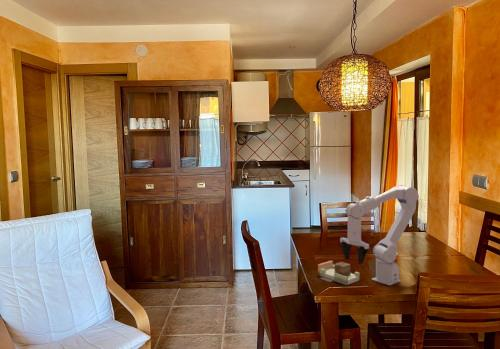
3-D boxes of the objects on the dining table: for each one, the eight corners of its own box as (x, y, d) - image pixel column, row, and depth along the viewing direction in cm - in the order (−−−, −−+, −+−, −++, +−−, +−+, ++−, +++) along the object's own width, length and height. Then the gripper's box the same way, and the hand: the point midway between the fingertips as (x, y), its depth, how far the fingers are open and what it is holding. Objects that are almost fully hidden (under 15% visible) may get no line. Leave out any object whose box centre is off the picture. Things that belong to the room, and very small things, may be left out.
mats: (360, 277, 179) (360, 276, 179) (338, 285, 170) (338, 284, 170) (341, 271, 188) (341, 271, 188) (319, 278, 179) (319, 278, 179)
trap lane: (359, 280, 175) (359, 269, 175) (346, 285, 170) (346, 273, 170) (331, 270, 189) (331, 260, 189) (318, 275, 184) (317, 264, 183)
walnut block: (350, 275, 177) (350, 264, 176) (343, 277, 174) (343, 266, 174) (341, 272, 181) (341, 261, 181) (334, 274, 178) (334, 264, 178)
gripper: (335, 229, 174) (335, 259, 175) (361, 235, 162) (361, 267, 163) (346, 227, 178) (345, 256, 179) (372, 233, 166) (371, 264, 167)
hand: (353, 261), depth 171 cm, fingers open, 7 cm apart
